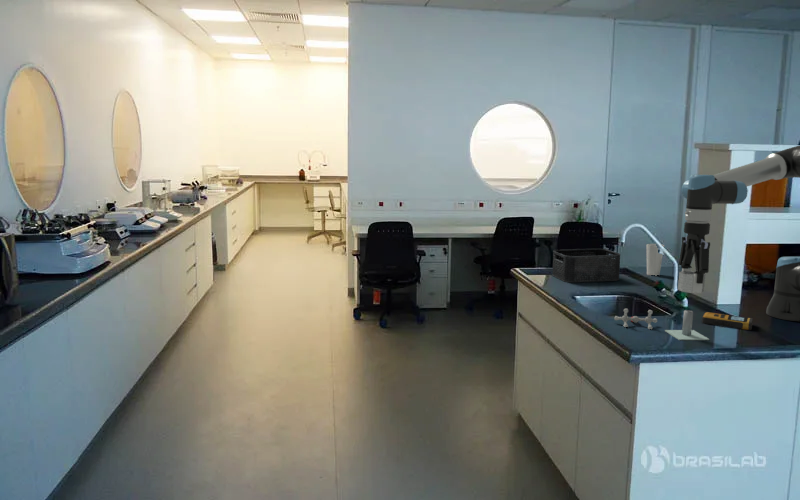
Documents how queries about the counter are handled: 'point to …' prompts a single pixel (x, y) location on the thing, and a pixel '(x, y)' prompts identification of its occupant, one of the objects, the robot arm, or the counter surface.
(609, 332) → the counter surface
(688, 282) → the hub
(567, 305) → the counter surface
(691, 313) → the block
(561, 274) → the storage bin
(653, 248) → the cup
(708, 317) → the electronic device
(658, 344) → the counter surface
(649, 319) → the molecular model
